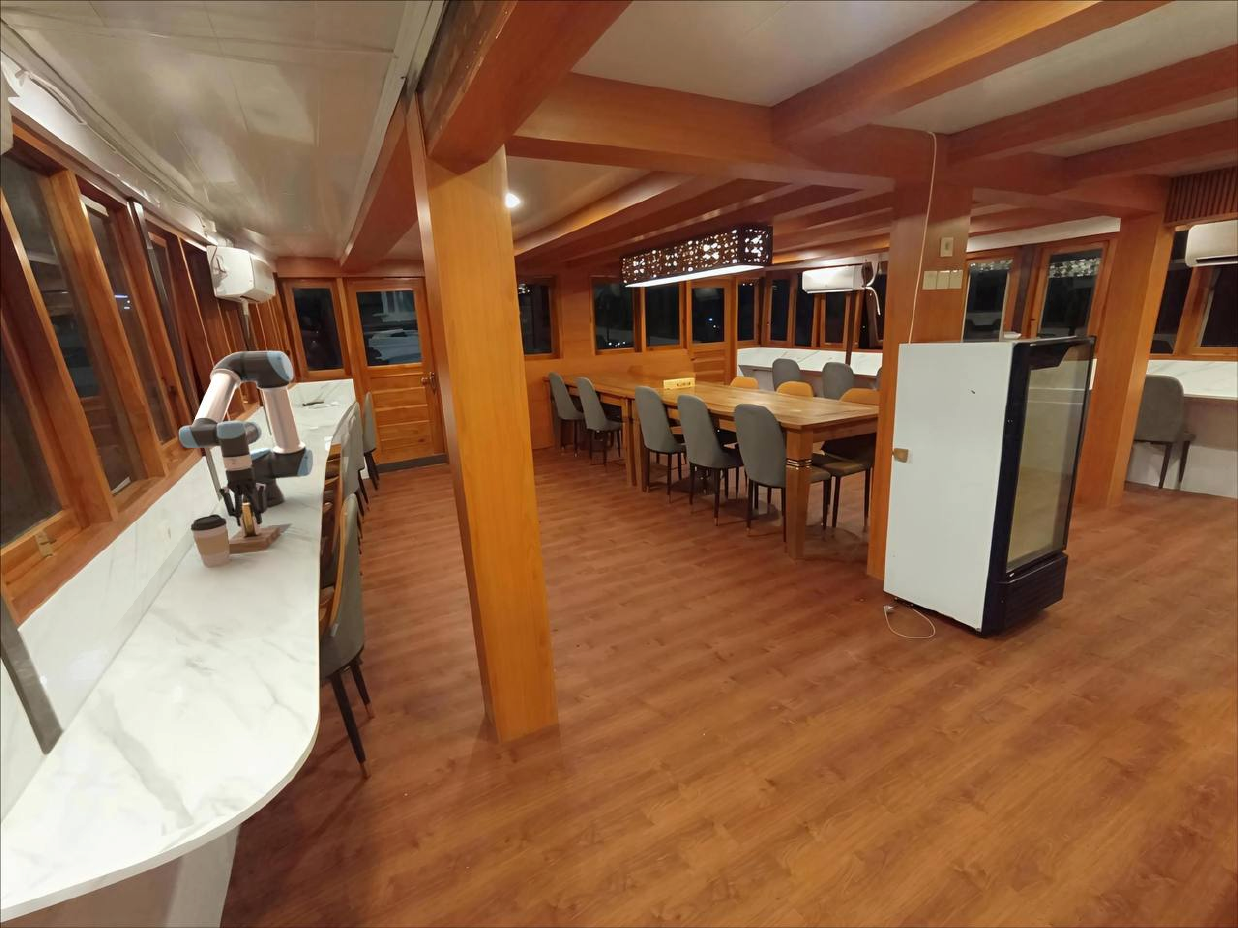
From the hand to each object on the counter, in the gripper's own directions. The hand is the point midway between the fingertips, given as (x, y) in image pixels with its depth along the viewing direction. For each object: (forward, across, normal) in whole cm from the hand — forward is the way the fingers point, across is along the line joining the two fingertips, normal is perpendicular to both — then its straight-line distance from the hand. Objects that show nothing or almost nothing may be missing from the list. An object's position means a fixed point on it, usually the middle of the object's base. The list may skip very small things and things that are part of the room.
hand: (252, 533), depth 181 cm
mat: (+4, +2, +13) cm, 14 cm away
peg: (+1, 0, 0) cm, 1 cm away
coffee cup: (+4, -6, -13) cm, 15 cm away
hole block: (+4, 0, 0) cm, 4 cm away
